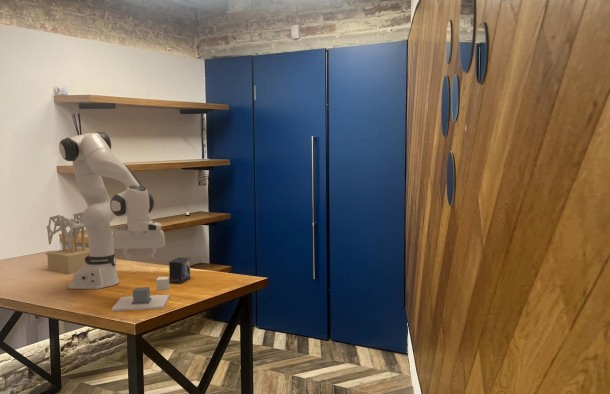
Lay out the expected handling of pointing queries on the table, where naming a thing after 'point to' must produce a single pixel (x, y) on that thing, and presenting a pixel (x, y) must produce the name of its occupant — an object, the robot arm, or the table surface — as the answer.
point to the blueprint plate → (153, 303)
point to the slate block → (141, 295)
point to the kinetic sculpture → (74, 256)
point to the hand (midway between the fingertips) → (140, 258)
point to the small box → (179, 270)
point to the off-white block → (162, 283)
